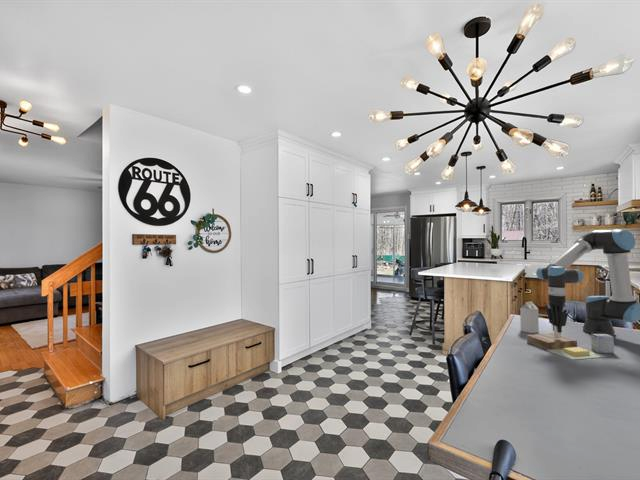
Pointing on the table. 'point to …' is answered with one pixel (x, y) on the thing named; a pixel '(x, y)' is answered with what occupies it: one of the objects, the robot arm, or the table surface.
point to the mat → (571, 357)
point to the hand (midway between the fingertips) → (557, 337)
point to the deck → (551, 341)
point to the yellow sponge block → (576, 351)
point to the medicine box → (602, 343)
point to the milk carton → (529, 318)
